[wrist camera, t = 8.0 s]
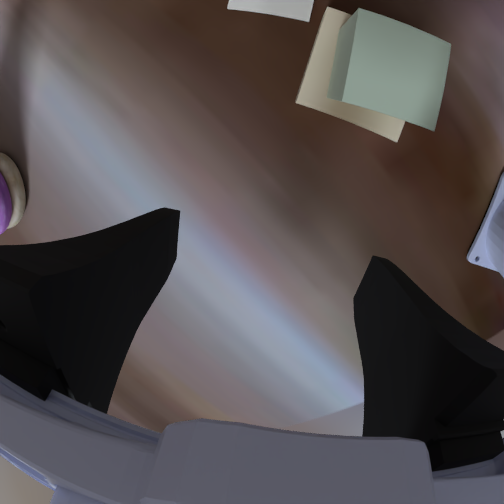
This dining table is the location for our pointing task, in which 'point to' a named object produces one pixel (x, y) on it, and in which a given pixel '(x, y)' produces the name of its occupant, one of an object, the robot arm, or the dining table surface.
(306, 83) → the maple base
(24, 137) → the dining table surface
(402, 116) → the sage block
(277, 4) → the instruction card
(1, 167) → the stacking toy
